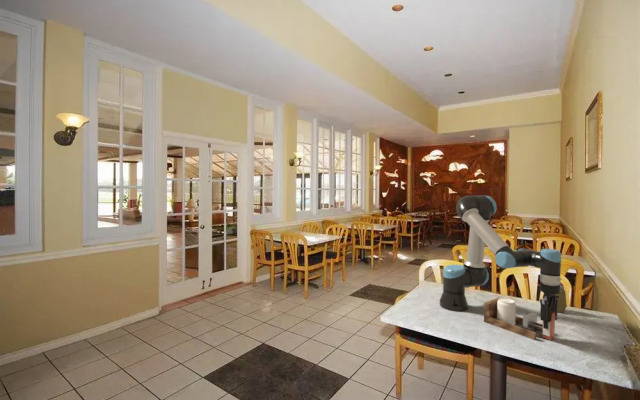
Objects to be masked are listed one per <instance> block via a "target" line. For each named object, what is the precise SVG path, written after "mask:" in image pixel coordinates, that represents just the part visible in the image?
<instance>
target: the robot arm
mask: <svg viewBox="0 0 640 400" xmlns="http://www.w3.org/2000/svg"><path fill="white" fill-rule="evenodd" d="M496 212H497V203H496V201H495V200H494V198H492V197H491V196H489V195H483V194H482V195H465V196H463V197H460V199H459V200H458V201H457V202H456V213H457V215H458V216H459V218H460V219H461V220H462V221H463V222H465V223H467V224H468V225H469V235H468V242H467V243H468V244H467V255H466V259H465V261H463V265H461V264H449V265H446V266H445V267H444V268H443V273H442V276H443V278H442V281H443V283H442V293H441V296H440V298H439V306H440V307H441V308H443V309H445V310H448V311H455V312H463V311H467V310H468V308H469V303H468V301H467V296H466V292H465V291H466V288H474V287H476V288H477V287H482V286H484V285H486V284H487V283H488V281H489V278H490V275H489V272H488V269H487V267H486V264H485V263H484V257H485V256H484V254H485V247H486V246H487V247H488V249H489V250H490V251H491V252H492V253H493V254H494V255H495V257H494V260H495V263H496V265H497V266H498V267H499V268H503V269H513V268H520V267H521V268H523V267H534V268H538V269H539V281H540V283H539V291H540V292H542V293H543V295H542V299H541V298H540V299H539V303H540V321H542V324H543V335H546V336H550V323H551V322H549V321H550V312H551V311H552V312H555V321H557V320H558V312H557V308H558V298H559V296H557V295H556V294H559V293H560V285H559V284H560V282H561V281H562V278H561V270H562V269H561V267H562V254H561V251H560V250H558V249H552V248H543V249H541V250H540V251H538V250H537V251H536V250H533V249H528V248H518V249H517V250H513V249H512V248H511V247H510V246H509V244H508V243H506V241H504V239H503V238H502V237H501V236H500V235H499V234H498V233H497V232H496V231H495V229H494V228H493V227H492V226H491V225H490V224H489V222H490V221H491V219H492V218H491V217H492V216H494V214H495V213H496ZM485 245H486V246H485Z"/></svg>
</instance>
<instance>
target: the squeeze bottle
mask: <svg viewBox="0 0 640 400" xmlns="http://www.w3.org/2000/svg"><path fill="white" fill-rule="evenodd" d="M559 285H560V293H559V294H556V295H557V296H559V298H558V308H557V313H565V311H566V308H567V306H568V305H567V296H566V295H567V294H566V290H565V289H564V285H562V283H561V281H560V284H559Z"/></svg>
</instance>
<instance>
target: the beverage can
mask: <svg viewBox="0 0 640 400" xmlns="http://www.w3.org/2000/svg"><path fill="white" fill-rule="evenodd" d="M498 298H499V299H498V301H497V319H498V320H501V321H504V322H507V323H510V324H512V325H515V326H516V323H515V318H516V316H517V314H516V312H517V311H516V308H517V304H516V301H515V300H514V299H510V298H507V297H498Z"/></svg>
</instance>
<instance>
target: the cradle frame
mask: <svg viewBox="0 0 640 400" xmlns="http://www.w3.org/2000/svg"><path fill="white" fill-rule="evenodd" d="M499 298H500V297H497V298H494V299H490V300H488V301H484V303H483V306H484V307H483V308H484V309H483V322H484V323H486V324H489V325H491V326H495V327H496V328H500V329H503V330H506V331H509V332H512V333H514V334H517V335H520V336H522V337H525V338H529V339H531V340H533V341H535V340H536V339H537V332H535V331H530V330H527V329H524V328H523V327H521V326H523V317H520V316H518V315H516V318H515V325H512V324H510V323H507V322H504V321H501V320H498V319H497V301H498V299H499ZM516 324H519V325H521V326H518V325H516ZM537 326H541V327H543V323H539V322H537ZM536 331H539V332H542V330H539V329H537V330H536Z"/></svg>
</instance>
